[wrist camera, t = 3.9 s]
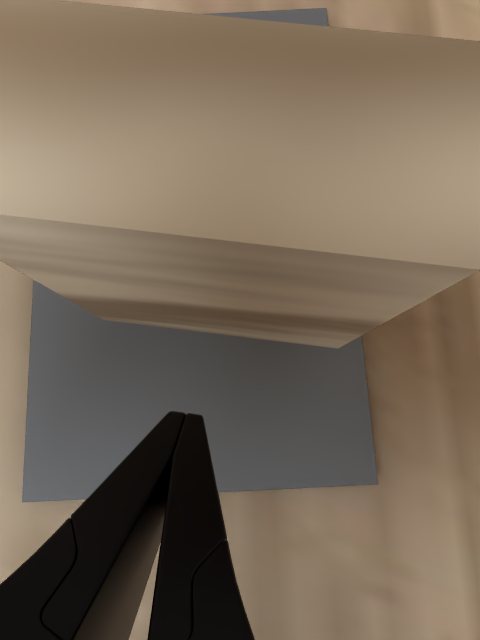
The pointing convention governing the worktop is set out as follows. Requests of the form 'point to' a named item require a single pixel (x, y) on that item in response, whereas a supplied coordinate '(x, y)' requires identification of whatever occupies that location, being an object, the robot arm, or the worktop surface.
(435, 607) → the worktop surface
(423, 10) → the worktop surface
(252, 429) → the rubber mat
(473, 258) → the maple block
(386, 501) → the worktop surface
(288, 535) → the worktop surface
